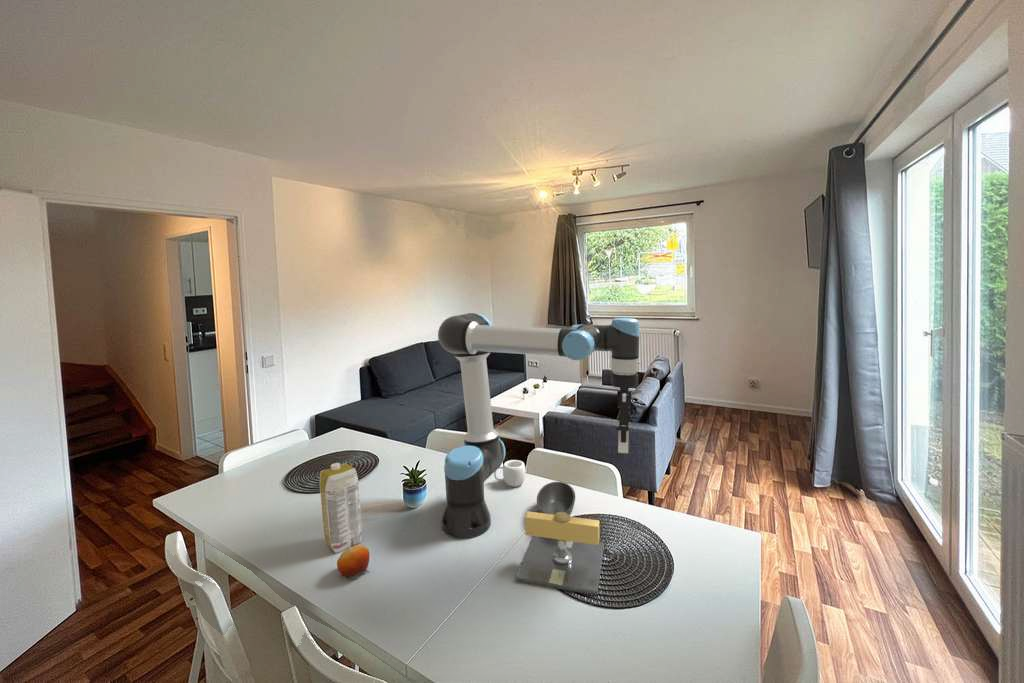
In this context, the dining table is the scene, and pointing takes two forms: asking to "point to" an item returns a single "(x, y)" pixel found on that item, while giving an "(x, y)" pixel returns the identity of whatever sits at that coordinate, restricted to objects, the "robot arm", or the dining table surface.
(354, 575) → the fruit
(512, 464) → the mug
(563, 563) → the base
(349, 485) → the juice carton
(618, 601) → the dining table surface
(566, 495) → the bowl
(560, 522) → the bar
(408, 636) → the dining table surface
